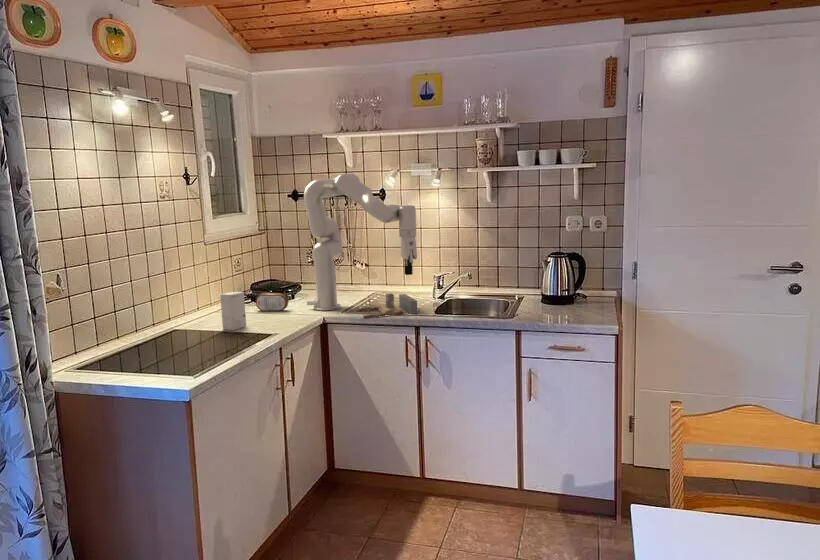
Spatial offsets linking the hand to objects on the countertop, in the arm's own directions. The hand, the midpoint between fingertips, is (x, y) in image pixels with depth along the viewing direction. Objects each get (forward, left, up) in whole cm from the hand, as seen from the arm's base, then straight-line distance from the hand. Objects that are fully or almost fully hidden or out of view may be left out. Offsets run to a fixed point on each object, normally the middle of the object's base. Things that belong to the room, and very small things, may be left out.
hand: (408, 274), depth 282 cm
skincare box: (-76, +1, -17) cm, 78 cm away
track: (-13, +3, -17) cm, 22 cm away
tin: (-58, +29, -18) cm, 67 cm away
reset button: (0, -1, -14) cm, 14 cm away
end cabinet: (0, +3, -17) cm, 17 cm away
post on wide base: (-8, +3, -17) cm, 19 cm away
